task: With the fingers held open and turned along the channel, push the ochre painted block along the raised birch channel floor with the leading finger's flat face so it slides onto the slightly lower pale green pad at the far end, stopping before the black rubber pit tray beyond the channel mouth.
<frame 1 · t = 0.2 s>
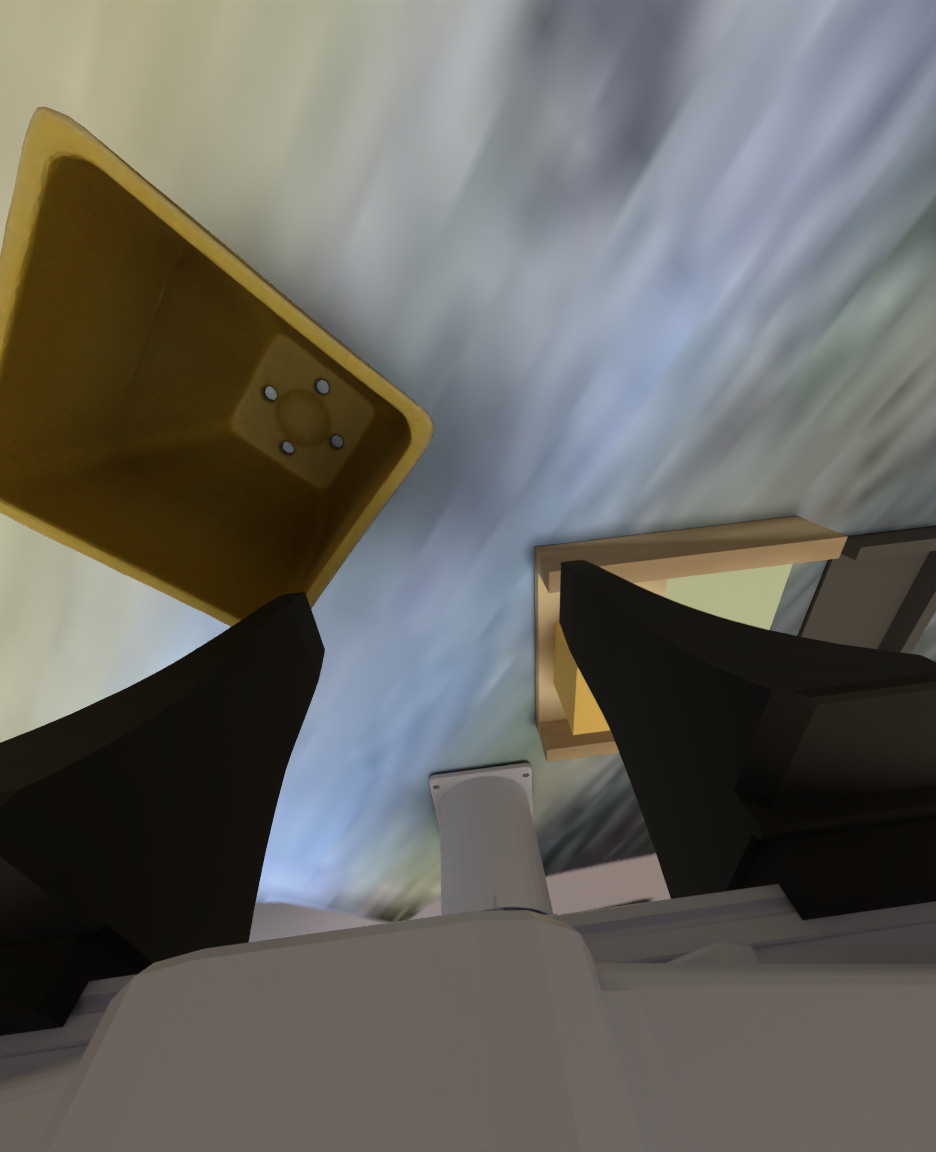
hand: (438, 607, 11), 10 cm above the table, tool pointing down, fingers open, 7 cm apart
flower pot: (304, 415, 17), on the table
channel: (649, 634, 25), on the table
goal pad: (706, 627, 25), on the table
block: (593, 649, 24), point 1 cm above the table, touching channel
pit tray: (858, 608, 25), on the table
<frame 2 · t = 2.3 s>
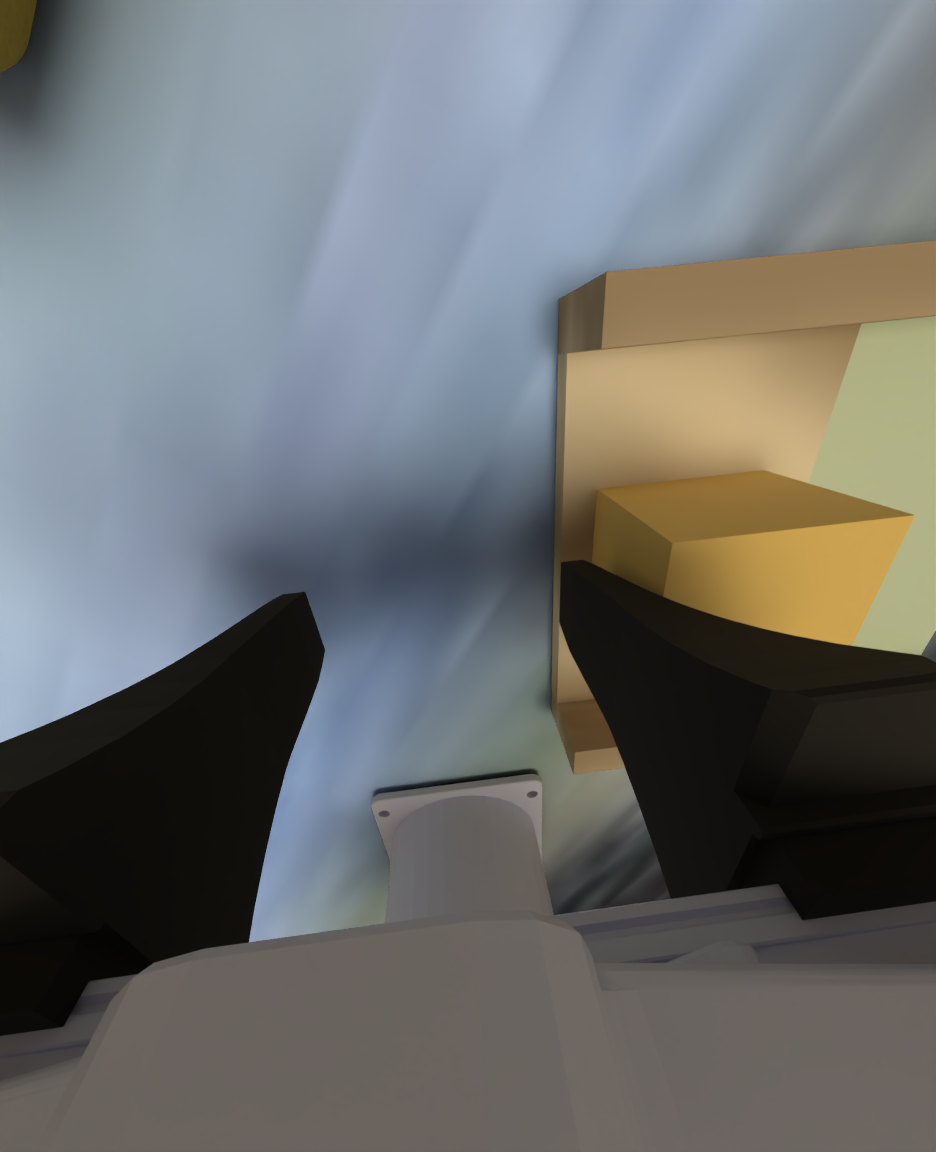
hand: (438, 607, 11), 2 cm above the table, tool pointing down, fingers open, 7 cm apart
channel: (769, 533, 13), on the table
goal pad: (874, 521, 13), on the table
block: (667, 556, 12), point 1 cm above the table, touching channel, gripper
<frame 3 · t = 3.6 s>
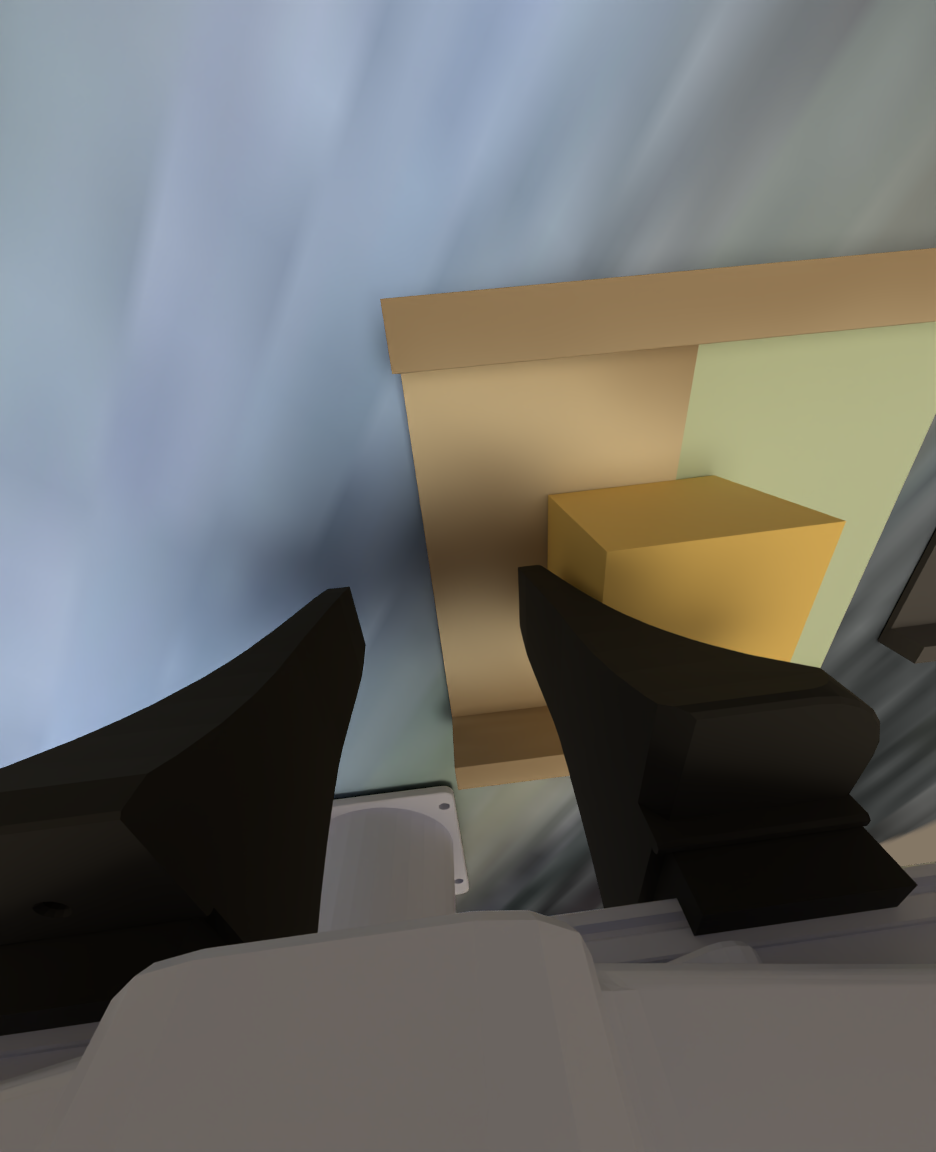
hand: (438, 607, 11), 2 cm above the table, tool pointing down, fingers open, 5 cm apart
channel: (650, 549, 13), on the table
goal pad: (756, 537, 13), on the table
block: (623, 561, 12), point 1 cm above the table, touching channel, gripper
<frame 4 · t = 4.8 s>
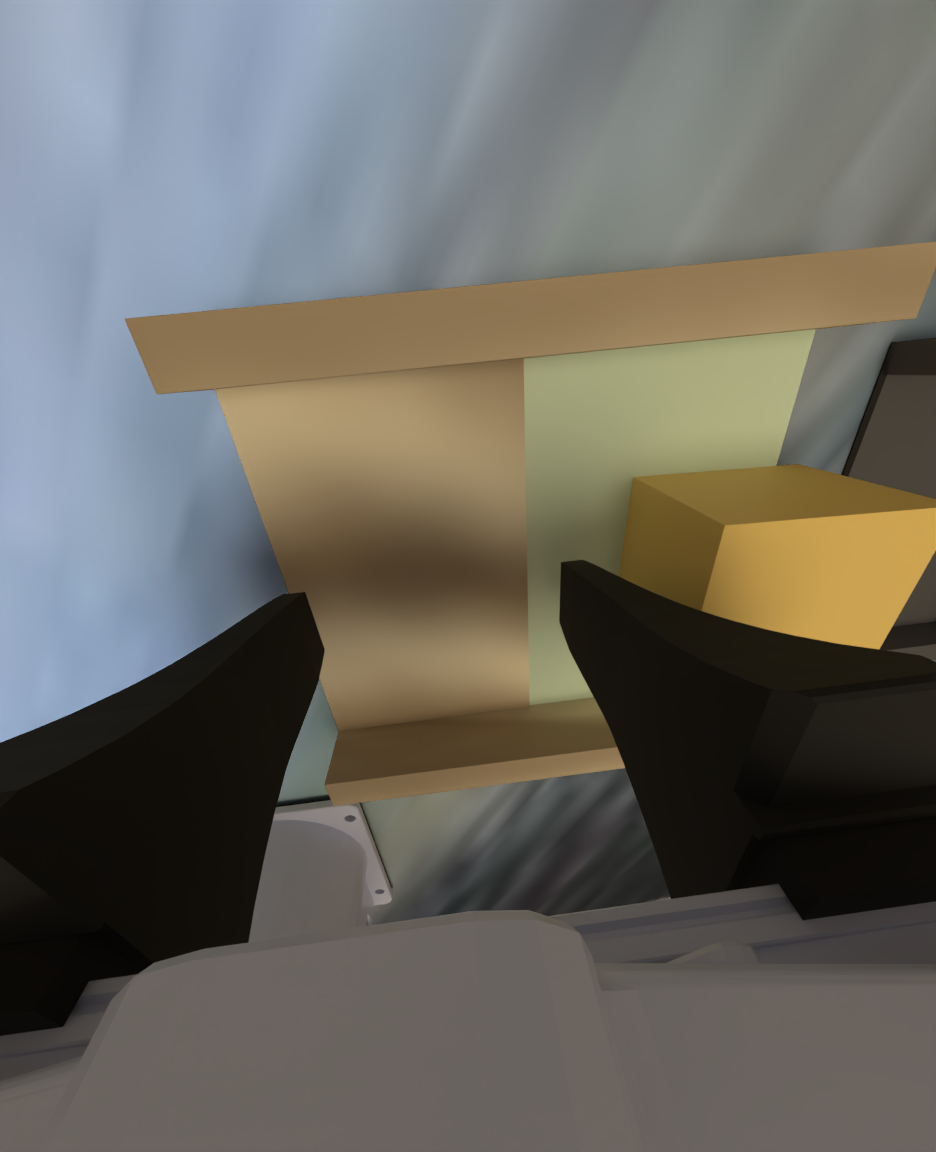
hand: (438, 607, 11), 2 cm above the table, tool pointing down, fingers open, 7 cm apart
channel: (522, 562, 13), on the table
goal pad: (631, 549, 13), on the table
block: (697, 548, 12), point 1 cm above the table, touching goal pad
pit tray: (920, 516, 13), on the table
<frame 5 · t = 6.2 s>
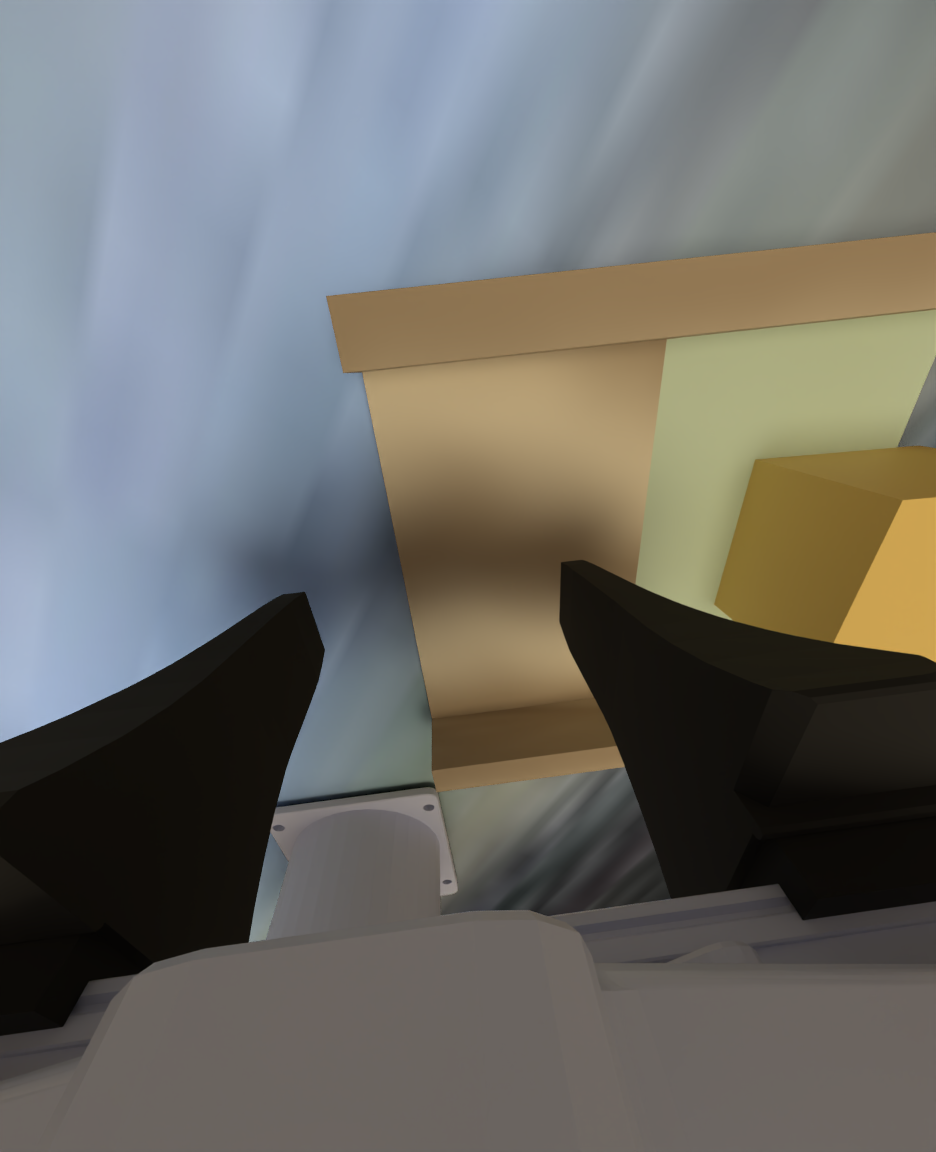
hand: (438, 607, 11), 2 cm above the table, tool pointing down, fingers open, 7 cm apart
channel: (627, 547, 13), on the table
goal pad: (735, 534, 13), on the table
block: (807, 532, 12), point 1 cm above the table, touching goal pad
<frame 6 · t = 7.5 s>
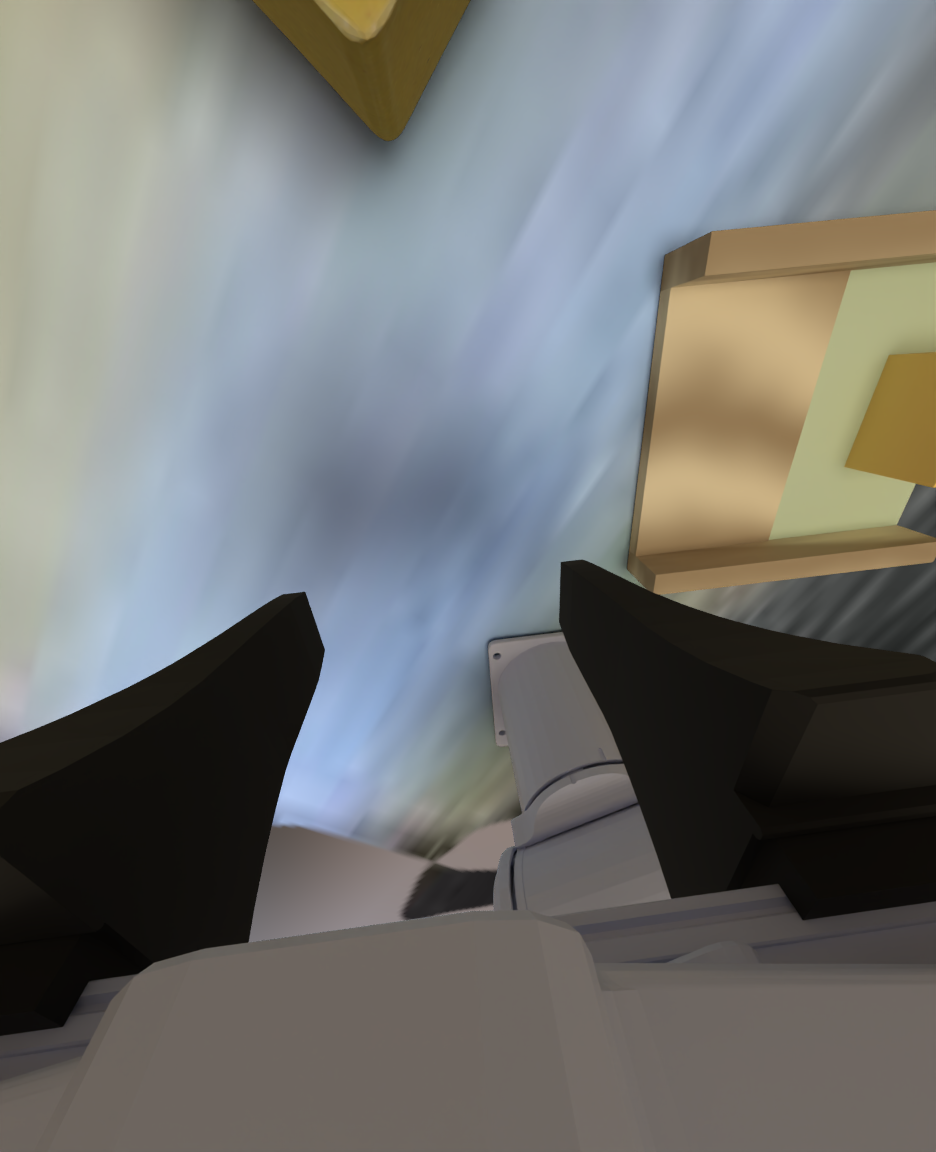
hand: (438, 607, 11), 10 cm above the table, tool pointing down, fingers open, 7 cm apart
channel: (789, 424, 19), on the table
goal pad: (862, 416, 19), on the table
block: (914, 410, 19), point 1 cm above the table, touching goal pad
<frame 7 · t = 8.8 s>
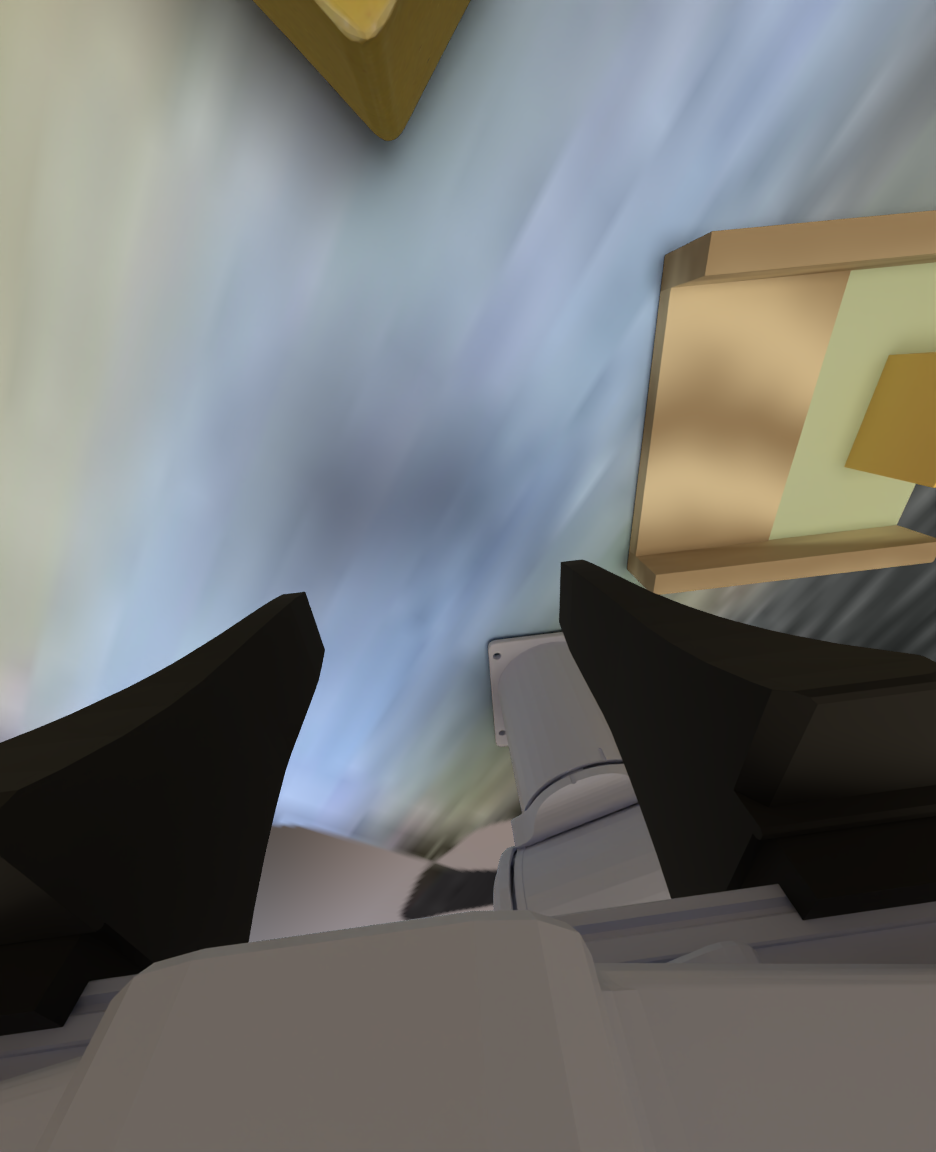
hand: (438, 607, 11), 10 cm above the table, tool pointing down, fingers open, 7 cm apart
channel: (789, 424, 19), on the table
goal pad: (862, 416, 19), on the table
block: (914, 410, 19), point 1 cm above the table, touching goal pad
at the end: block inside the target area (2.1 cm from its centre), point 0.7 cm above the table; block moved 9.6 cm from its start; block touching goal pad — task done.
